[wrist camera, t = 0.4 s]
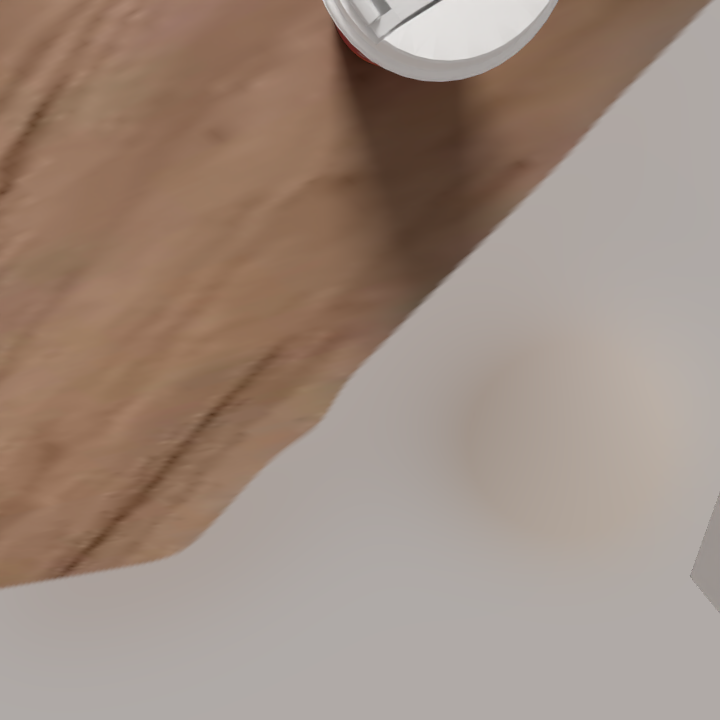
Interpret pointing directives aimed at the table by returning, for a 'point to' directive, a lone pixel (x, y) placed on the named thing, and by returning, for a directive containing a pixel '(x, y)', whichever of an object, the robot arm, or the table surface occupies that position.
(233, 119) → the table surface
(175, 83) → the table surface
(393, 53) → the coffee cup
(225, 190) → the table surface
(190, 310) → the table surface
